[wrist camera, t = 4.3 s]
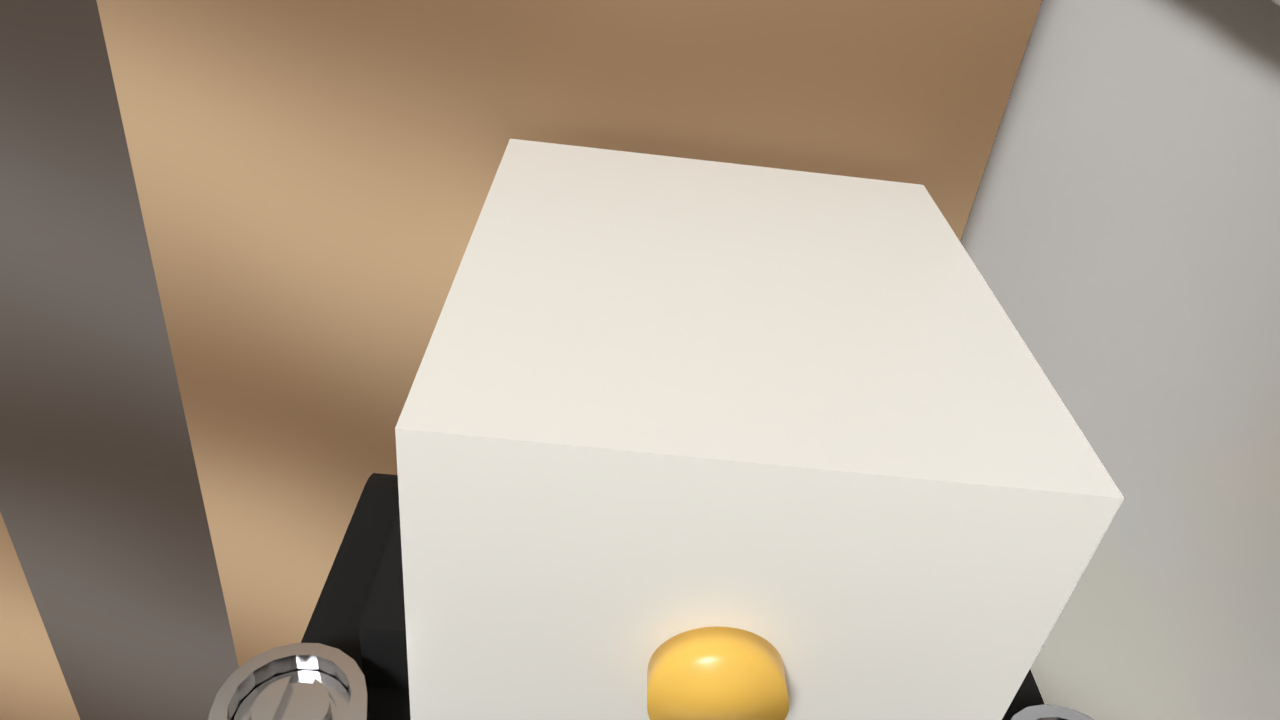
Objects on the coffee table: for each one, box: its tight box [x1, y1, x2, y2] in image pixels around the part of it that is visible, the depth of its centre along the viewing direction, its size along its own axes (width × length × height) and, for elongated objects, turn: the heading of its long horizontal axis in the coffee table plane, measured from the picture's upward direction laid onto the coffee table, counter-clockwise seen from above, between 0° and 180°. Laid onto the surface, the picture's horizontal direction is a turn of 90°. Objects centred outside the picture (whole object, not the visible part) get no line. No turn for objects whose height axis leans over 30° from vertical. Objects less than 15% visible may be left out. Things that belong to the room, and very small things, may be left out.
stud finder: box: [395, 139, 1124, 720], centre depth 10 cm, size 9×4×5 cm, turn 173°
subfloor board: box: [0, 0, 1042, 720], centre depth 13 cm, size 18×15×1 cm
